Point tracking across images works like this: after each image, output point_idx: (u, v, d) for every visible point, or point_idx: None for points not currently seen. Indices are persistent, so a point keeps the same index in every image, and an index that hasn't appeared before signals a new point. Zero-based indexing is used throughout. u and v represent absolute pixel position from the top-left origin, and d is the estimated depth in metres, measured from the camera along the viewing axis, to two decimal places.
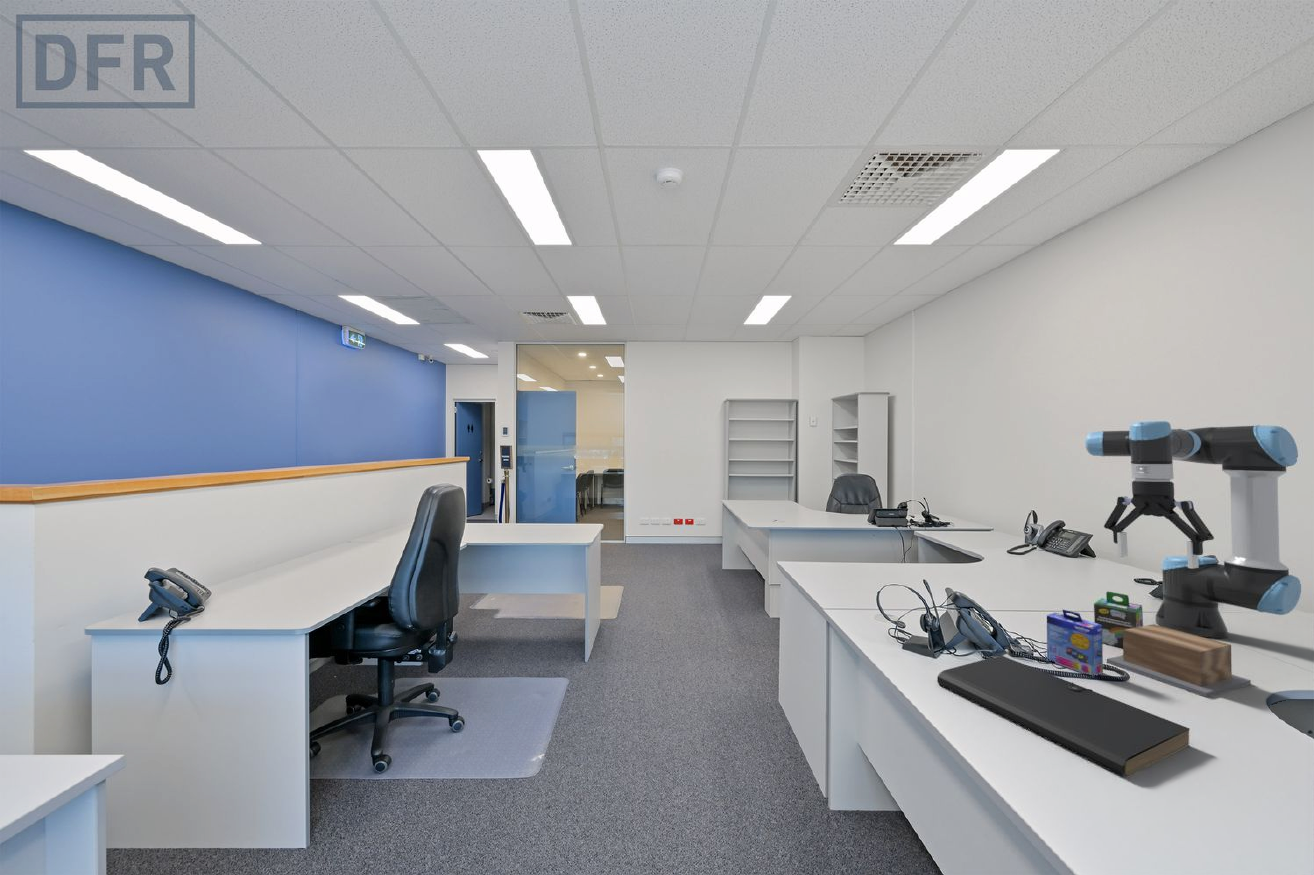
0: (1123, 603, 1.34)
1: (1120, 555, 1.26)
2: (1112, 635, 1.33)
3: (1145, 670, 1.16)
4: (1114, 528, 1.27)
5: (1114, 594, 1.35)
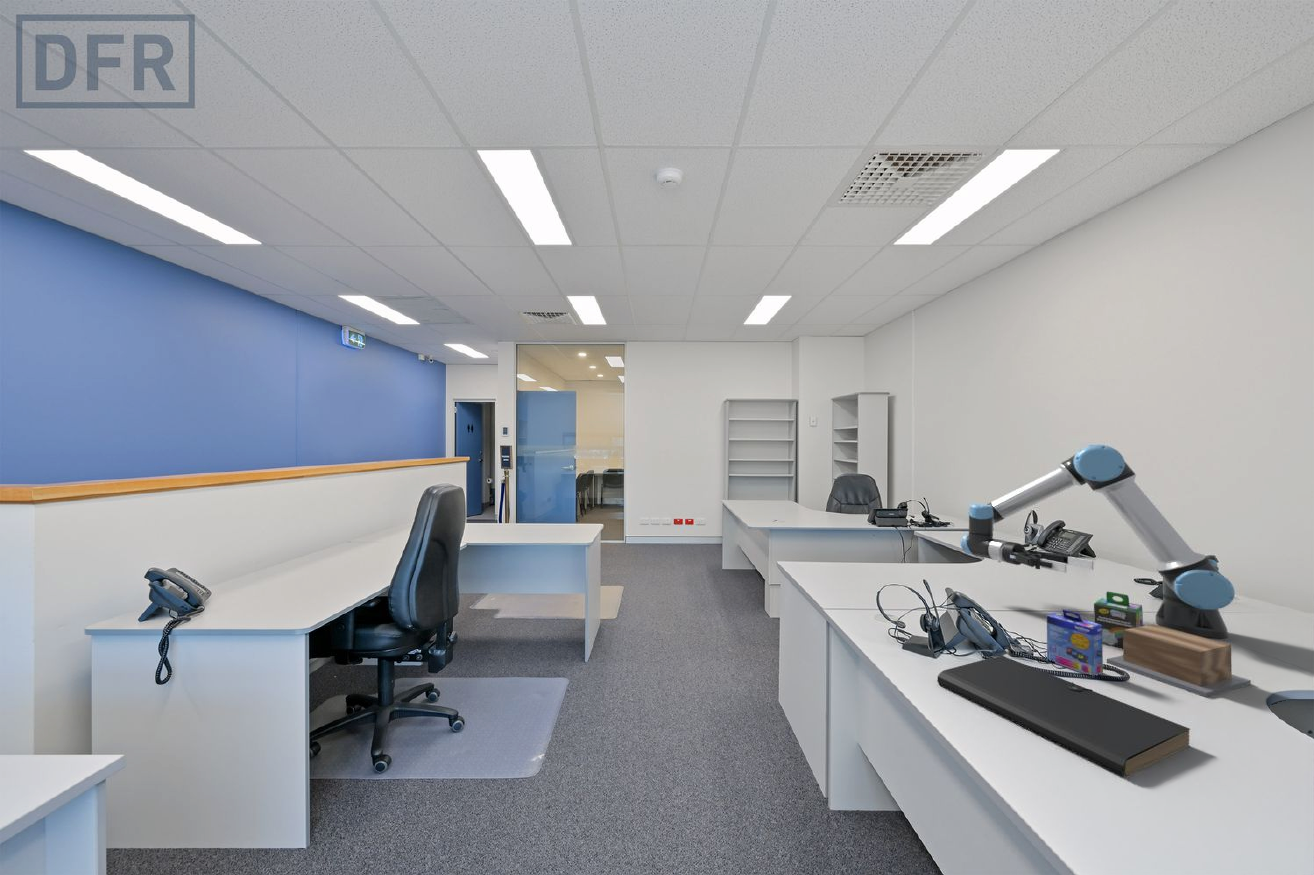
0: (1123, 603, 1.34)
1: (1091, 569, 1.47)
2: (1112, 635, 1.33)
3: (1145, 670, 1.16)
4: None
5: (1114, 594, 1.35)
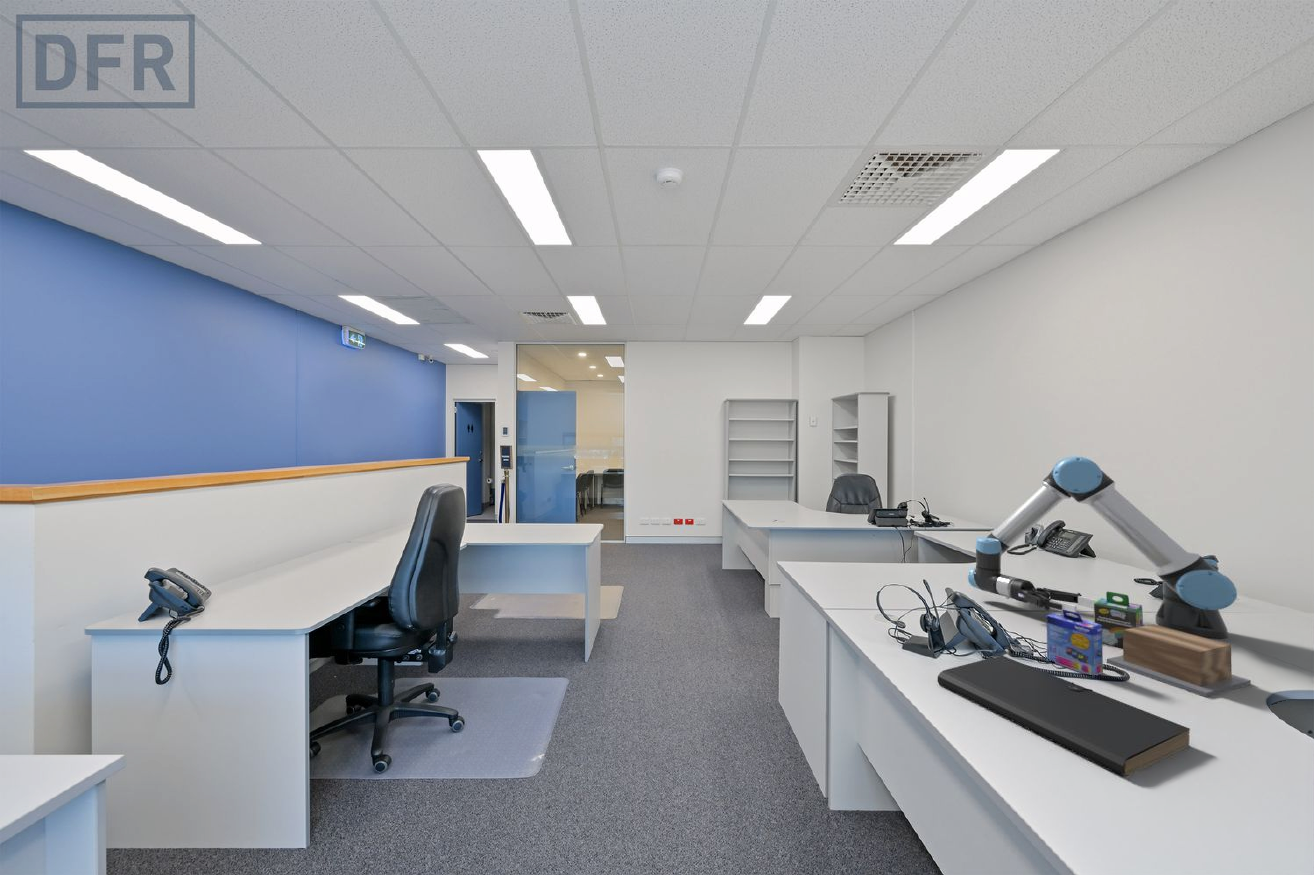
0: (1123, 603, 1.34)
1: None
2: (1112, 635, 1.33)
3: (1145, 670, 1.16)
4: None
5: (1114, 594, 1.35)
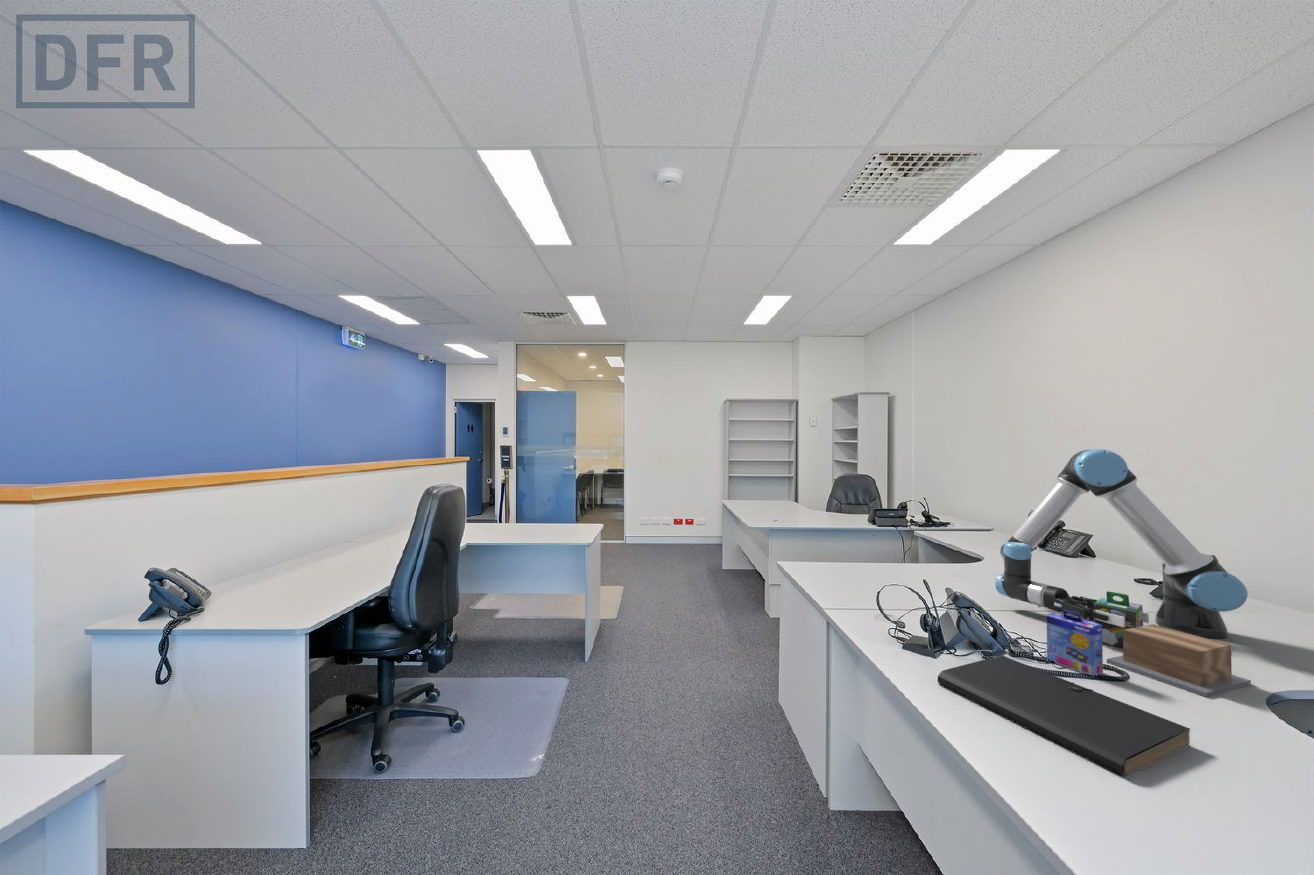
0: (1123, 603, 1.34)
1: None
2: (1112, 635, 1.33)
3: (1145, 670, 1.16)
4: None
5: (1114, 593, 1.35)
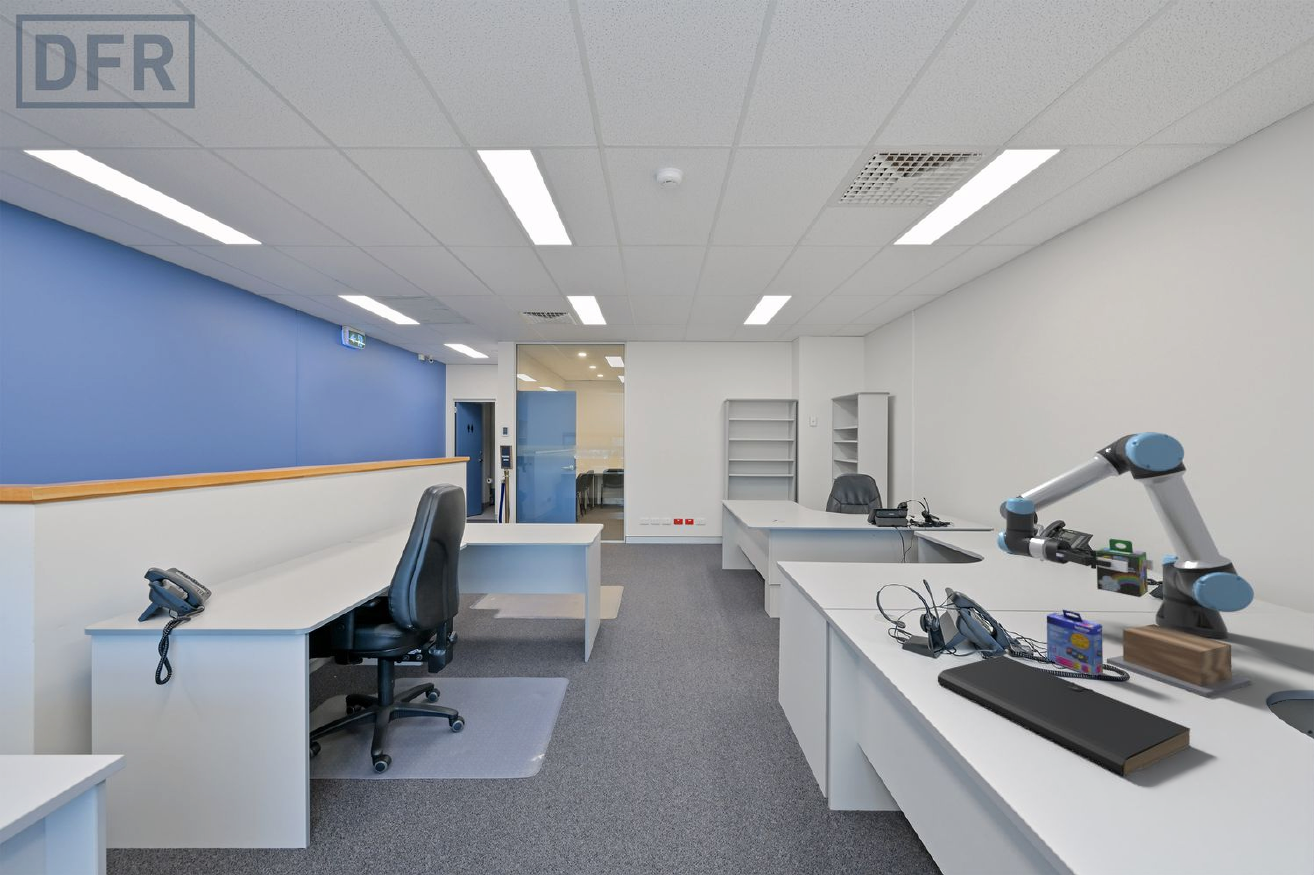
0: (1126, 550, 1.32)
1: (1150, 569, 1.31)
2: (1115, 582, 1.31)
3: (1145, 670, 1.16)
4: None
5: (1117, 541, 1.33)
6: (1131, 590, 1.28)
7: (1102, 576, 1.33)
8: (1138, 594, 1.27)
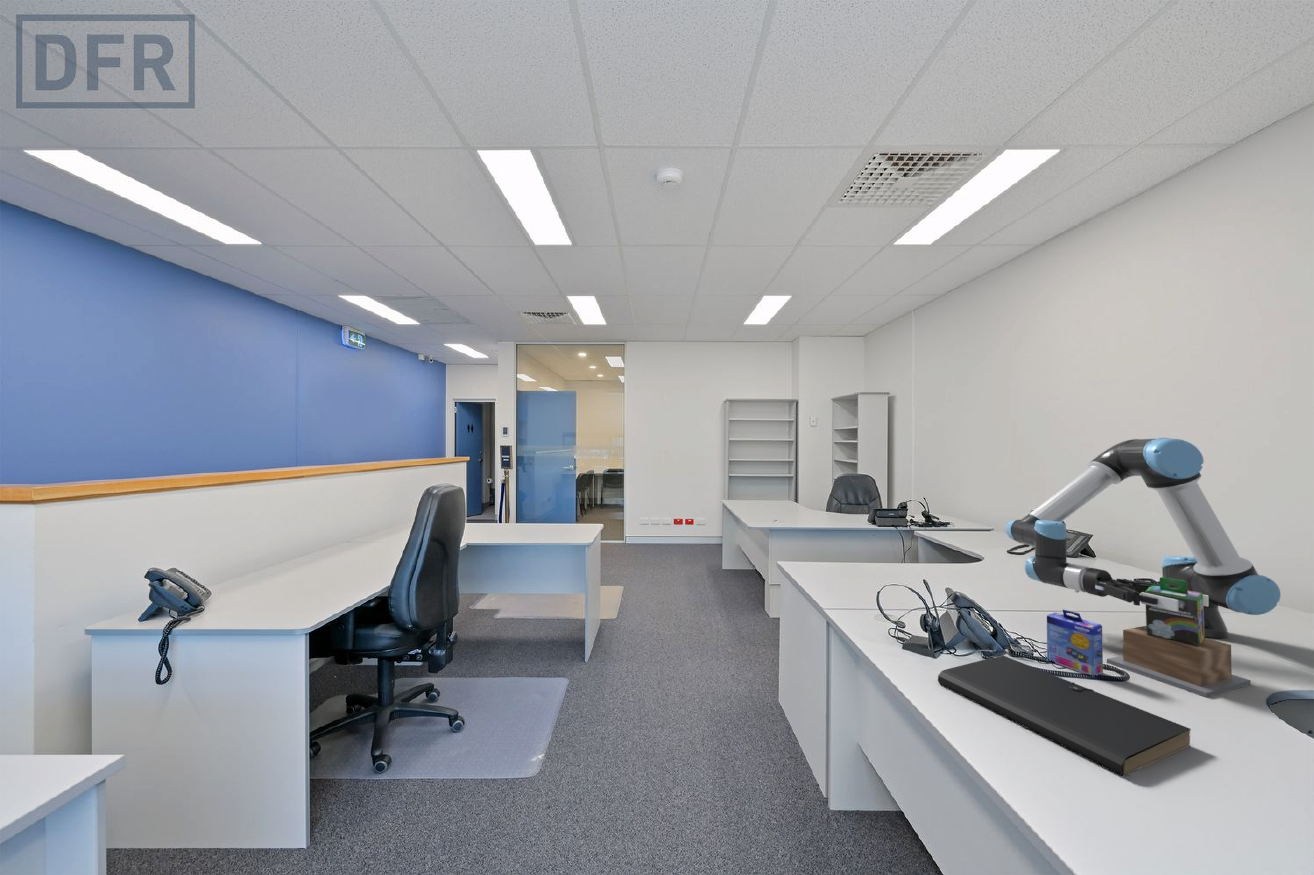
0: (1180, 590, 1.16)
1: (1205, 605, 1.17)
2: (1168, 627, 1.15)
3: (1145, 670, 1.16)
4: None
5: (1170, 580, 1.17)
6: (1187, 638, 1.12)
7: (1152, 620, 1.17)
8: (1196, 643, 1.11)
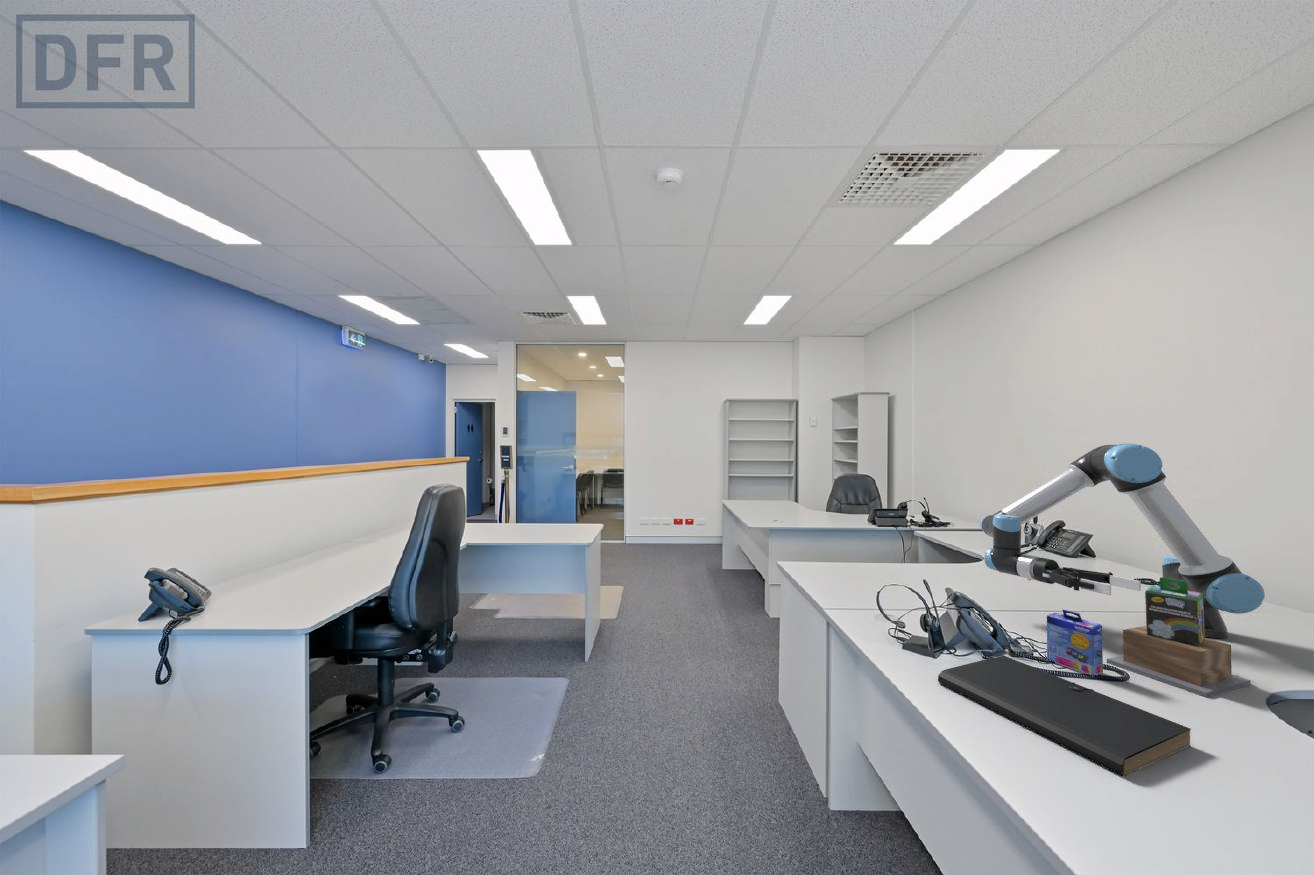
0: (1180, 590, 1.16)
1: (1138, 590, 1.29)
2: (1168, 627, 1.15)
3: (1145, 670, 1.16)
4: None
5: (1170, 580, 1.17)
6: (1187, 638, 1.12)
7: (1152, 620, 1.17)
8: (1196, 643, 1.11)
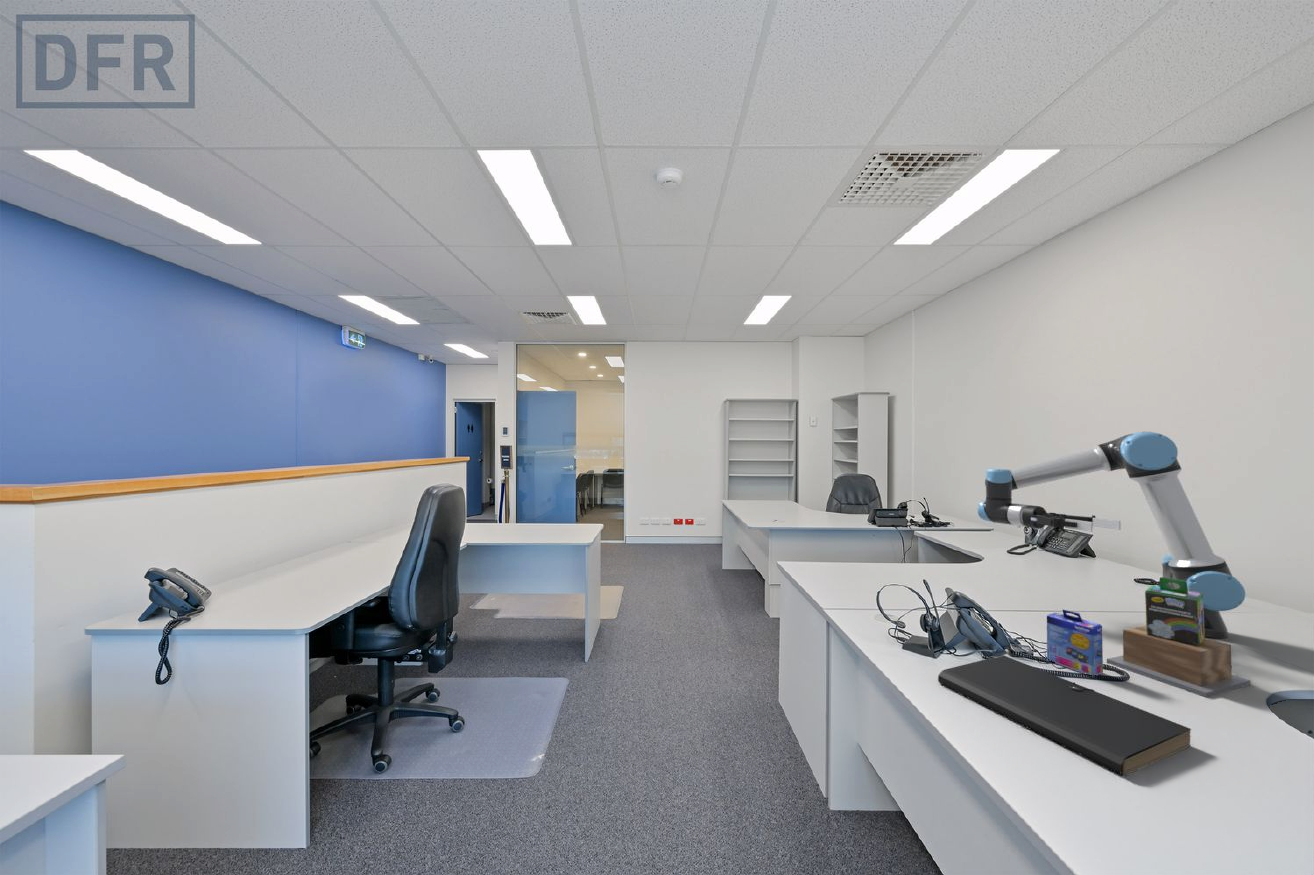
0: (1180, 590, 1.16)
1: (1118, 529, 1.40)
2: (1168, 627, 1.15)
3: (1145, 670, 1.16)
4: None
5: (1170, 580, 1.17)
6: (1187, 638, 1.12)
7: (1152, 620, 1.17)
8: (1196, 643, 1.11)
